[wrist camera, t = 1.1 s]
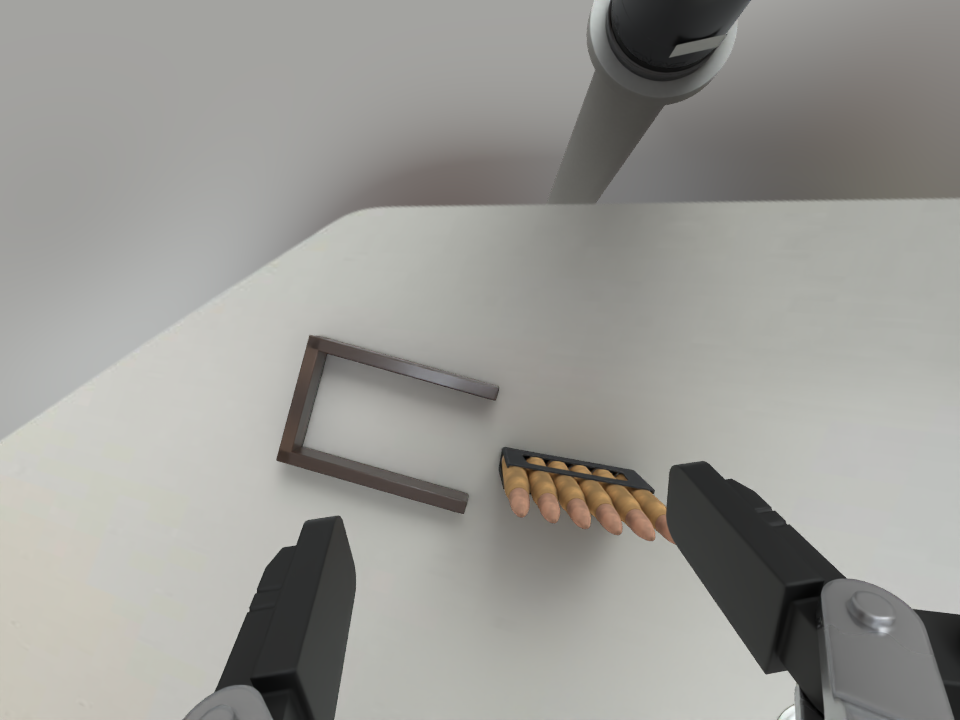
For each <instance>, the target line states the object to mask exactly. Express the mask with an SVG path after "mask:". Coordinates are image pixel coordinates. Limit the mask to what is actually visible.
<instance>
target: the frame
mask: <svg viewBox="0 0 960 720" xmlns="http://www.w3.org/2000/svg"><path fill="white" fill-rule="evenodd" d="M327 354H331V355H334V356H338V357H341V358H345V359H348V360H352V361H355V362H359V363H363V364H366V365H370V366H373V367H377V368H380V369H384V370H388V371H391V372H395V373H398V374H402V375H405V376H409V377H412V378H416V379H420V380H423V381H427V382H430V383H434V384H437V385H441V386H444V387H448V388H452V389H455V390H459V391H462V392H466V393H469V394H473V395H477V396H480V397H484V398H487V399H491V400H494V401H495V400H496V398H497V394H498V391H499V387H498V386H496V385H493V384H489V383H486V382H482V381H478V380H475V379H471V378H468V377H464V376H461V375H457V374H453V373H450V372H446V371H443V370H439V369H436V368H432V367H428V366H425V365H421V364H418V363H414V362H411V361H407V360H403V359H400V358H396V357H393V356H389V355H386V354H382V353H378V352H375V351H371V350H368V349H364V348H361V347H357V346H353V345H350V344H346V343H343V342H339V341H336V340H332V339H328V338H325V337H321V336H313V335H310V336H309V339H308V343H307V347H306V350H305V354H304V358H303V362H302V365H301V369H300V373H299V377H298V380H297V384H296V388H295V392H294V395H293V399H292V403H291V407H290V410H289V414H288V418H287V422H286V425H285V429H284V433H283V437H282V440H281V444H280V448H279V452H278V455H277V459H276V460H277V461H280V462H283V463H287V464H290V465H294V466H297V467H301V468H304V469H308V470H311V471H315V472H318V473H322V474H325V475H329V476H332V477H336V478H339V479H342V480H346V481H349V482H353V483H356V484H360V485H363V486H367V487H370V488H374V489H377V490H381V491H384V492H388V493H391V494H395V495H398V496H402V497H405V498H409V499H412V500H416V501H419V502H423V503H426V504H430V505H433V506H437V507H440V508H444V509H447V510H451V511H454V512H458V513H461V514H464V512H465V508H466V505H467V500H468V494H467V493H463V492H460V491H456V490H453V489H449V488H446V487H442V486H439V485H435V484H432V483H428V482H425V481H421V480H418V479H414V478H411V477H407V476H404V475H400V474H397V473H393V472H390V471H386V470H383V469H379V468H376V467H372V466H369V465H365V464H362V463H358V462H355V461H351V460H348V459H344V458H341V457H337V456H334V455H330V454H327V453H323V452H320V451H316V450H313V449H309V448H306V447H302V445H303V441H304V437H305V434H306V430H307V426H308V423H309V419H310V415H311V411H312V408H313V404H314V400H315V396H316V393H317V389H318V385H319V382H320V378H321V374H322V370H323V367H324V363H325V359H326V355H327Z"/></svg>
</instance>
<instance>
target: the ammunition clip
mask: <svg viewBox="0 0 960 720" xmlns="http://www.w3.org/2000/svg"><path fill="white" fill-rule="evenodd" d="M499 472H500V476H501V481H502V485H503V489H504V490H505V493H506V496H507V497H508V499H509V502H510V506H511V508H512V510H513V512H514V513H515V514H516V515H517V516H518V517H525V516H526V515H527V513H528V511H529V507H530V499H529V494H531V495H532V498H533V500H534V502H535V503H536V504H537V505H538V508H539V509H540V512H541V514H542V515H543V517H544V518H545V519H546V520H547V521H549V522H550V523H556V522H557V521H558V520H559V517H560V506H559V503H560V505H561V506H562V508H563V509H564V510H565V511H566V512H567V513H568V514H569V516H570V518H571V519H572V520H573V522H574V523H575V524H576V525H577V526H579V527H581V528H582V529H588V528H589V527H590V524H591V515H590V513H591V514H592V515H593V516H595V517H596V519H597V520H598V521H599V522H600V524H601V525H602V526H603V527H604V528H605V529H606V530H607V531H609V532H610V533H612V534H614V535H620V534H621V533H622V522H621V521H623V522H625V524H626V525H627V526H628V527H630V528H631V530H632V531H633V532H634V533H635V534H637V535H638V536H639V537H641V538H643V539H645V540H647V541H654V540H655V531H654V529H655V530H656V531H658V532H659V533H660V534H661V535H662V536H663V537H664V538H666V539H667V540H668V541H670V542H671V543H673V544H675V542H674V541H673V539H672V537H671V535H670V532H669V529H668V526H667V521H666V507H665V505H664V504H663V503H662V502H661V501H659V500H658V499H657V498H656V497H655V496H654V495H653V494H654V492H655V490H654V489H653V488H652V487H651V486H650V485H649V484H648V483H647V482H646V481H645V480H643V479H642V478H641V477H640V476H639V475H638V474H637V473H636V472H635V471H634V470H629V469H623V468H618V467H612V466H606V465H601V464H595V463H590V462H584V461H579V460H573V459H568V458H562V457H557V456H551V455H546V454H540V453H534V452H529V451H523V450H518V449H512V448H507V447H504V448H502V453H501V458H500V464H499ZM558 501H559V503H558ZM675 545H676V544H675Z"/></svg>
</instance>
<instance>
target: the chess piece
mask: <svg viewBox="0 0 960 720" xmlns="http://www.w3.org/2000/svg"><path fill="white" fill-rule="evenodd" d="M778 720H795V705H793V706H791V707H790V708H788V709H787V710H786V711H784V712H783V714H782V715H781V716H780V718H779V719H778Z"/></svg>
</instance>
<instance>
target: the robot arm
mask: <svg viewBox="0 0 960 720" xmlns="http://www.w3.org/2000/svg"><path fill="white" fill-rule="evenodd" d="M750 1H751V0H610V3H609V6H608V10H607V14H606V34H607V39H608V42H609V45H610V47H611V49H612V51H613V53H614V55H615V56H616V58H617V59H618V60H619V62H620V63H621V64H622V65H623V66H624V67H625V68H627V69H628V70H629V71H631V72H632V73H634V74H636V75H638V76H640V77H642V78H645V79H649V80H653V81H671V80H676V79H680V78H683V77H685V76H688V75H690V74H692V73H693V72H695V71H696V70H698V69H699V68H700V67H701V66H703V65H704V64H705V63H706V62H707V60H708V59H709V58H710V57H711V55H712V54H713V53H714V51H715V50H716V49H717V47H718V46H719V45H720V43H721V42H722V41H723V39H724V38H725V36H726V35H727V34H726V33H727V32H728V30H729V29H730V28H731V26H732V25H733V24H734V22H735V21H736V20H737V18H738V17H739V16H740V14H741V13H742V12H743V10H744V9H745V8H746V6H747V5H748V4H749V2H750ZM666 521H667V526H668V529H669V532H670V535H671V537H672V539H673V541H674V542H675V544H676V545H677V547H678V548H679V550H680V551H681V553H682V554H683V555H684V557H685V558H686V560H687V561H688V563H689V564H690V566H691V567H692V568H693V570H694V571H695V573H696V574H697V576H698V577H699V579H700V580H701V582H702V583H703V584H704V586H705V587H706V589H707V590H708V592H709V593H710V595H711V596H712V597H713V599H714V600H715V602H716V603H717V605H718V606H719V608H720V609H721V610H722V612H723V613H724V615H725V616H726V618H727V619H728V621H729V622H730V624H731V625H732V626H733V628H734V629H735V631H736V632H737V634H738V635H739V637H740V638H741V639H742V641H743V642H744V644H745V645H746V647H747V648H748V650H749V651H750V653H751V654H752V655H753V657H754V658H755V660H756V661H757V663H758V664H759V666H760V667H761V668H762V670H763V671H764V673H765V674H771V673H776V672H781V671H786V670H788V671H789V673H790V674H791V676H792V677H793V678H794V680H795V681H796V682H797V683H796V687H795V694H794V696H795V720H960V615H958V614H949V613H941V612H933V611H924V610H916V609H912V608H911V607H910V606H908V605H907V604H906V603H905V602H904V601H902V600H901V599H900V598H898V597H897V596H895V595H893V594H892V593H890V592H888V591H886V590H885V589H883V588H880V587H878V586H876V585H873V584H870V583H867V582H864V581H860V580H855V579H847V578H846V577H845V576H844V575H842V574H841V573H840V572H839V571H838V570H837V569H836V568H835V567H834V566H833V565H832V564H831V563H830V562H829V561H828V560H827V559H826V558H824V557H823V556H822V555H821V554H820V553H819V552H818V551H817V550H816V549H815V548H814V547H813V546H812V545H811V544H810V543H809V542H808V541H806V540H805V539H804V538H803V537H802V536H801V535H800V534H799V533H798V532H797V531H796V530H795V529H794V528H793V527H792V526H791V525H787V524H786V521H785V520H784V519H783V518H782V517H781V516H780V515H779V514H778V513H777V512H776V511H772V509H771V507H770V506H769V505H768V504H767V503H766V502H765V501H764V500H763V499H762V498H761V497H760V496H759V495H758V494H757V493H756V492H755V491H753V490H751V489H749V488H747V487H746V486H744V485H742V484H740V483H738V482H737V481H735V480H733V479H727V480H725V479H724V478H723V477H722V476H721V475H720V474H719V473H718V472H717V471H716V470H715V469H714V468H713V467H712V466H711V465H710V464H708V463H707V462H705V461H700V462H693V463H686V464H680V465H674V466H672V467H671V469H670V473H669V484H668V496H667V508H666ZM355 591H356V572H355V565H354V561H353V557H352V553H351V550H350V546H349V542H348V538H347V535H346V531H345V527H344V524H343V520H342V518H341V517H340V516H332V517H326V518H319V519H312V520H307V521H306V522H305V523H304V525H303V528H302V530H301V533H300V536H299V539H298V542H297V545H296V546H290V547H284V548H282V549H281V550H280V551H279V553H278V554H277V555H276V556H275V557H274V559H273V560H272V561H271V562H270V563H269V564H268V566H267V567H266V568H265V571H264V573H263V576H262V578H261V581H260V583H259V585H258V588H257V594H255V595H254V598H253V600H252V603H251V605H250V607H249V608H250V611H249V612H247V615H246V617H245V620H244V622H243V625H242V627H241V629H240V632H239V634H238V637H237V639H236V642H235V644H234V647H233V649H232V652H231V654H230V656H229V659H228V661H227V664H226V666H225V669H224V671H223V674H222V676H221V678H220V681H219V683H218V686H217V688H216V690H215V692H214V693H213V694H211V695H210V696H208V697H207V698H205V699H204V700H202V701H201V702H200V703H199V704H197V705H196V706H195V707H194V708H193V709H192V710H191V711H190V712H189V713H188V714H187V715H186V717H185V718H184V719H183V720H334V717H335V711H336V705H337V699H338V693H339V687H340V681H341V675H342V669H343V663H344V657H345V651H346V645H347V639H348V633H349V627H350V621H351V615H352V609H353V603H354V597H355Z"/></svg>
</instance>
